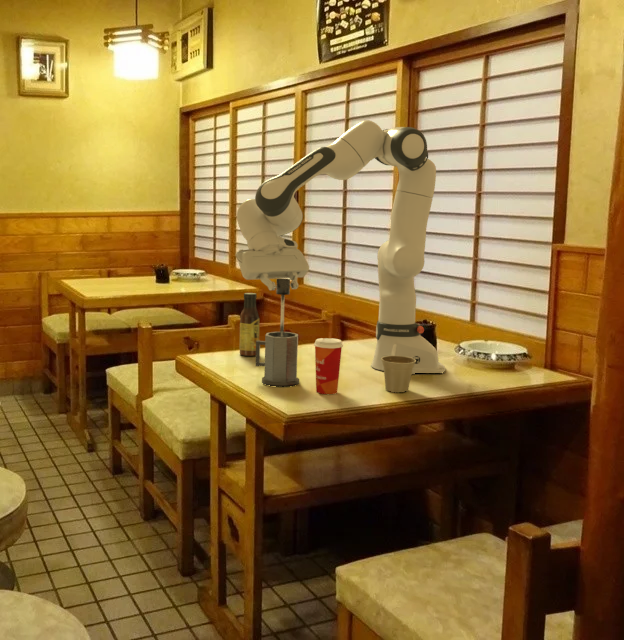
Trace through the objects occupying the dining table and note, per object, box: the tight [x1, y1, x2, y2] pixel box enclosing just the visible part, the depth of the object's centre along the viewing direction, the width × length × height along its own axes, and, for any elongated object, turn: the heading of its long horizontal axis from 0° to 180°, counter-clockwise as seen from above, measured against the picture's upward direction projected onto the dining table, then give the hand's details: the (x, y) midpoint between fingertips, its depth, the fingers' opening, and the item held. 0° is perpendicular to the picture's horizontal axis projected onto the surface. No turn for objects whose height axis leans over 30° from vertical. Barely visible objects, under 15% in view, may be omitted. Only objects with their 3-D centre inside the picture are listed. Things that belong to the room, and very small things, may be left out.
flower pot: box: [381, 356, 416, 393], centre depth 214 cm, size 9×9×9 cm
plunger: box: [275, 278, 291, 337], centre depth 215 cm, size 6×6×18 cm
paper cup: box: [313, 337, 344, 395], centre depth 209 cm, size 8×8×14 cm
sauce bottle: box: [238, 292, 261, 357], centre depth 252 cm, size 7×6×20 cm
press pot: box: [255, 331, 300, 388], centre depth 217 cm, size 12×10×14 cm
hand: (284, 288), depth 214 cm, fingers open, 6 cm apart
